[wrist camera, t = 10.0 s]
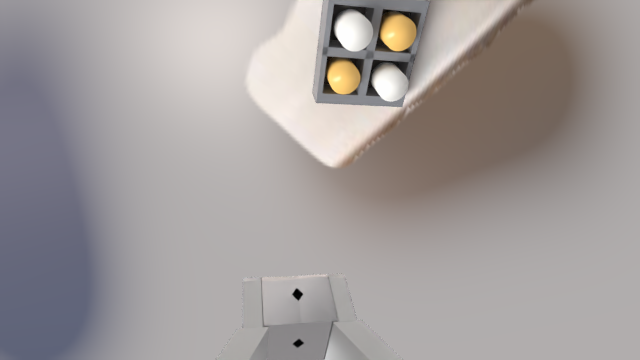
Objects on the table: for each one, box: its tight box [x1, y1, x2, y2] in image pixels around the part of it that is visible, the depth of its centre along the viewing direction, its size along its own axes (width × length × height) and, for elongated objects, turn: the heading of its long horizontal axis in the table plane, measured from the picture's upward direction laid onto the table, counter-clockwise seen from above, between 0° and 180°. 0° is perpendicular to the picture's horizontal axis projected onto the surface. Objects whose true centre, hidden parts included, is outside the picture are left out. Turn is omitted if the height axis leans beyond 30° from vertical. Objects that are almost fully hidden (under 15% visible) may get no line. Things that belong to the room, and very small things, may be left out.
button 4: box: [378, 11, 416, 51], centre depth 34 cm, size 3×3×3 cm
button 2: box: [371, 62, 409, 102], centre depth 36 cm, size 3×3×3 cm
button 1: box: [325, 57, 360, 94], centre depth 36 cm, size 3×3×3 cm
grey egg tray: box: [313, 0, 430, 107], centre depth 36 cm, size 10×9×2 cm
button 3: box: [333, 9, 373, 52], centre depth 33 cm, size 3×3×3 cm
